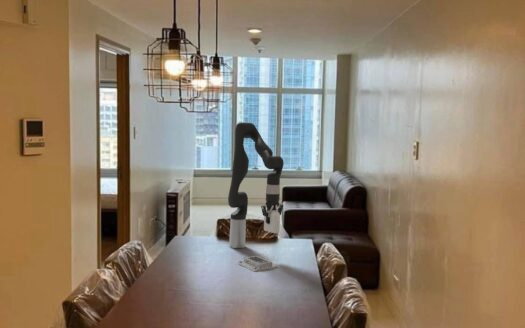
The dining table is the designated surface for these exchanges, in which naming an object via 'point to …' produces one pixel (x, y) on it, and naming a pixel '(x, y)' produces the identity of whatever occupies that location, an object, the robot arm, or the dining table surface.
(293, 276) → the dining table surface
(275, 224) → the photo printer
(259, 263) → the plate
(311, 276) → the dining table surface
